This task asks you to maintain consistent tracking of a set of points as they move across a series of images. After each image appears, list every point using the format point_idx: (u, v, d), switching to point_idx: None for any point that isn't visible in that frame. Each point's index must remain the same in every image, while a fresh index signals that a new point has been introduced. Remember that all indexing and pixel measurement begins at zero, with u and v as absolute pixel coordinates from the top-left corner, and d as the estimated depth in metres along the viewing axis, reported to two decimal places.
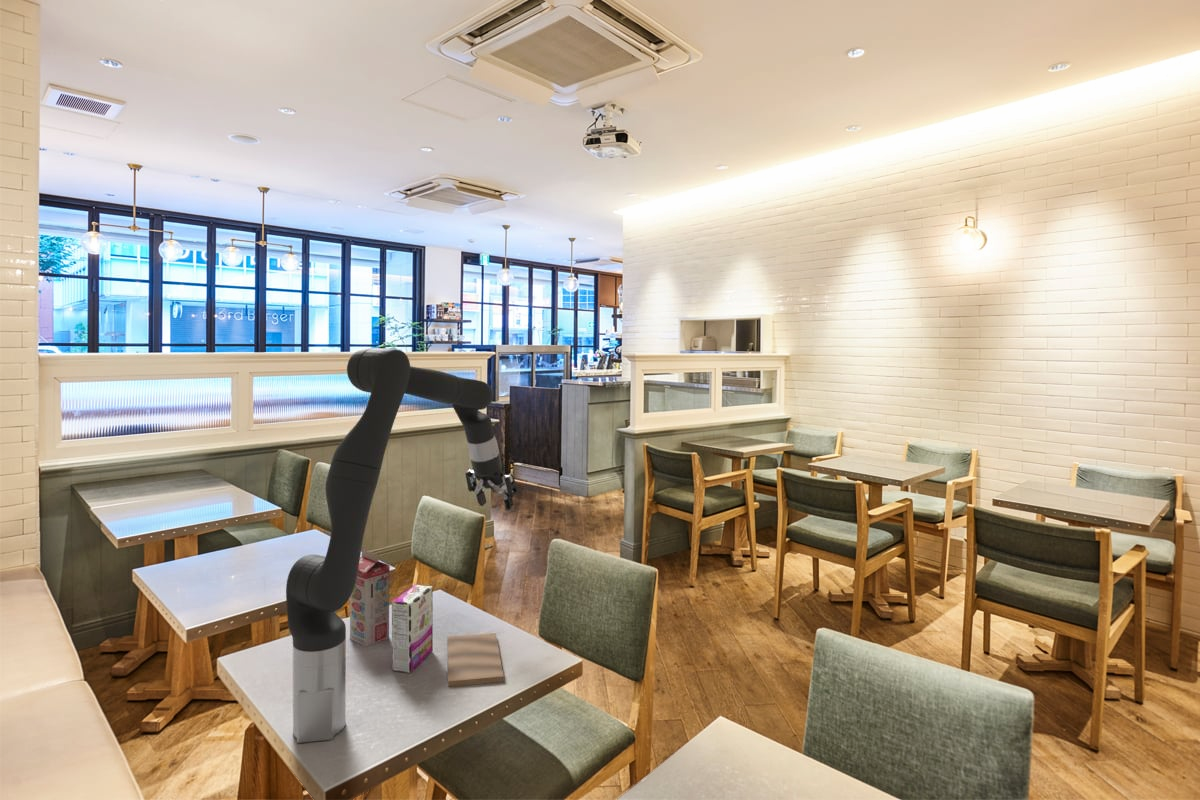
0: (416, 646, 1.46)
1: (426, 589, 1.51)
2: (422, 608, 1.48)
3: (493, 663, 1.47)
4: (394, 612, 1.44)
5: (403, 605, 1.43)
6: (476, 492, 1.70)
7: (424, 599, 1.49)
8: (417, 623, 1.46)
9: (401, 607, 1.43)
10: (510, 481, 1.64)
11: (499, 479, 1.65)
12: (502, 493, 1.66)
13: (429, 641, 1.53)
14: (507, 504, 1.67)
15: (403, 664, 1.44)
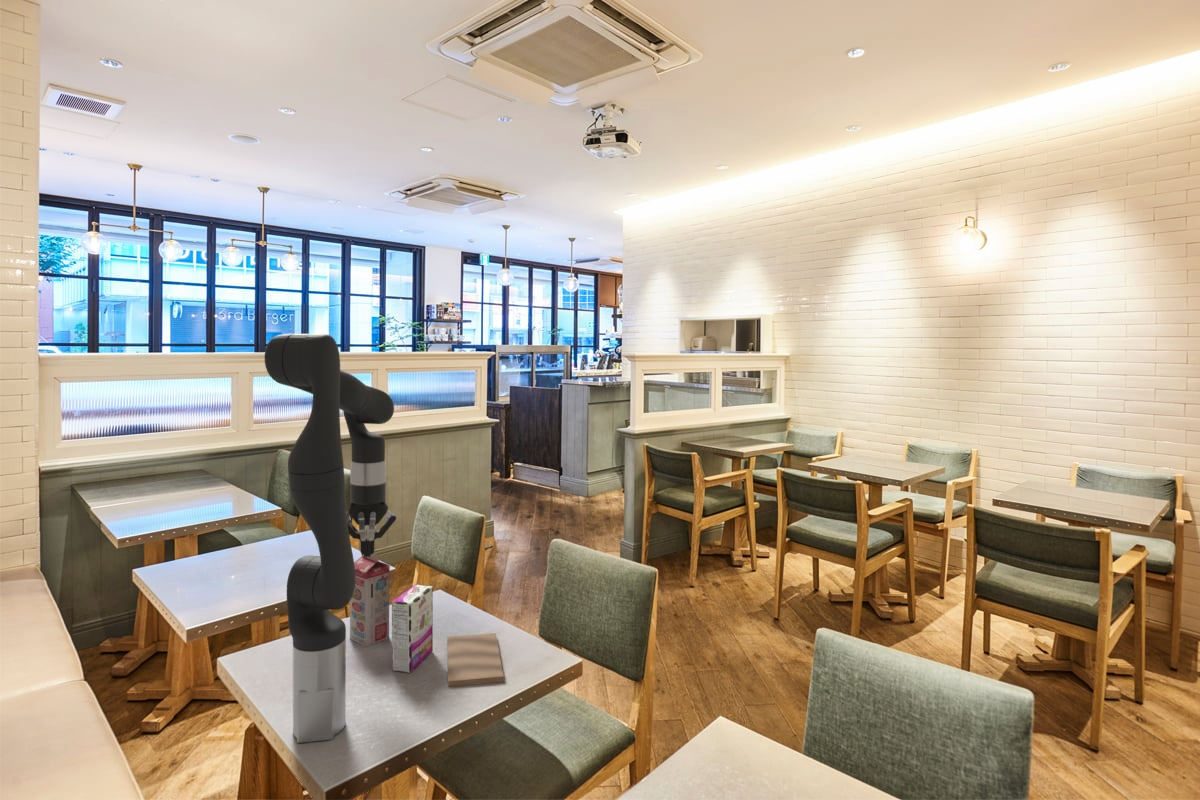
0: (416, 646, 1.46)
1: (426, 589, 1.51)
2: (422, 608, 1.48)
3: (493, 663, 1.47)
4: (394, 612, 1.44)
5: (403, 605, 1.43)
6: (364, 538, 1.44)
7: (424, 599, 1.49)
8: (417, 623, 1.46)
9: (401, 607, 1.43)
10: (393, 522, 1.45)
11: None
12: (372, 532, 1.44)
13: (429, 641, 1.53)
14: (370, 548, 1.44)
15: (403, 664, 1.44)
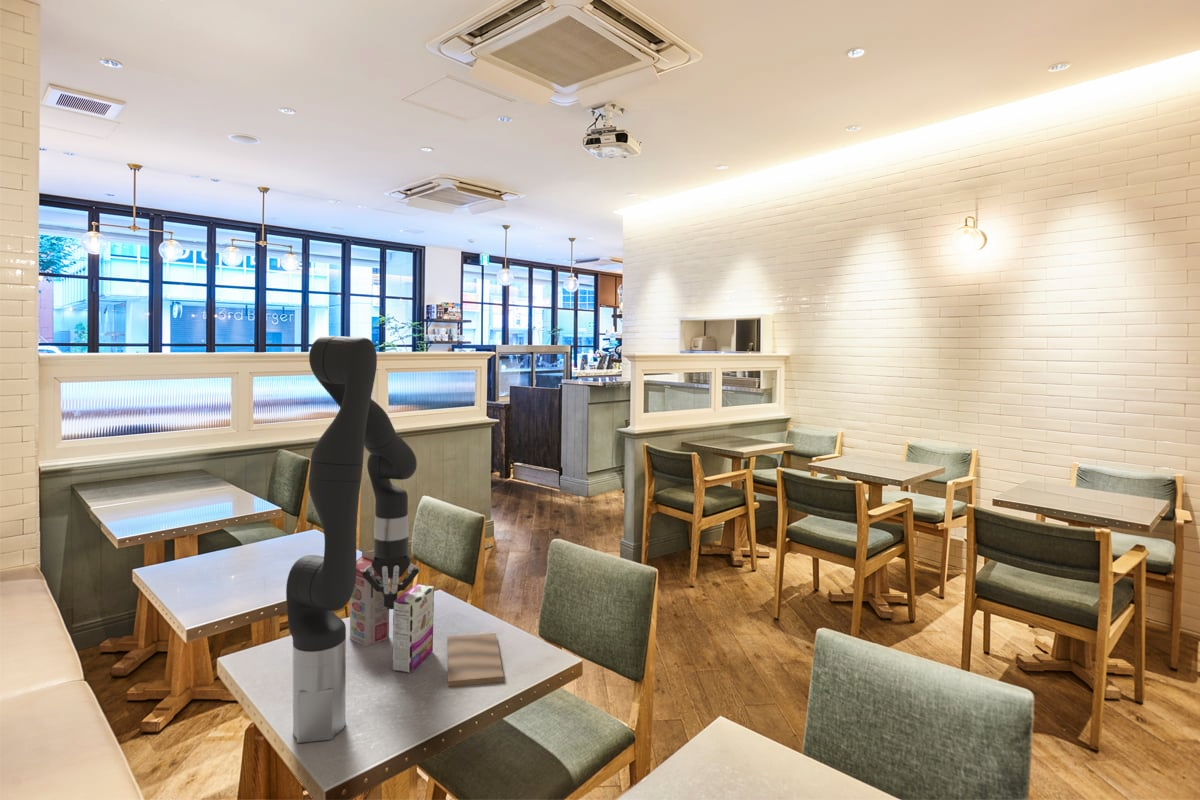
0: (417, 646, 1.46)
1: (428, 589, 1.51)
2: (423, 608, 1.48)
3: (493, 663, 1.47)
4: (396, 612, 1.43)
5: (405, 605, 1.43)
6: (387, 591, 1.46)
7: (426, 599, 1.49)
8: (418, 623, 1.46)
9: (403, 607, 1.43)
10: None
11: None
12: (395, 585, 1.46)
13: (429, 641, 1.52)
14: (393, 600, 1.47)
15: (403, 664, 1.44)
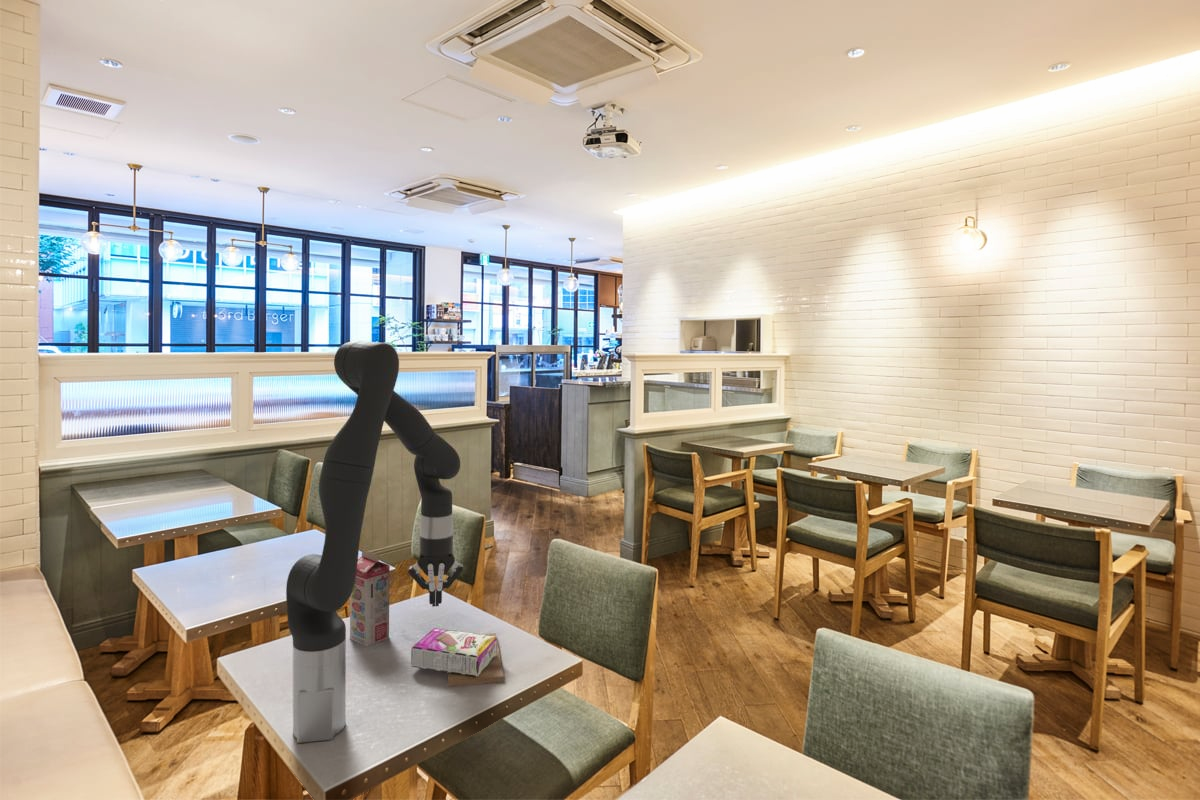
0: None
1: (492, 657, 1.49)
2: None
3: (493, 663, 1.47)
4: (467, 658, 1.41)
5: (475, 670, 1.41)
6: (432, 588, 1.48)
7: None
8: None
9: (473, 667, 1.41)
10: None
11: None
12: (440, 583, 1.49)
13: None
14: (438, 598, 1.49)
15: (418, 660, 1.44)
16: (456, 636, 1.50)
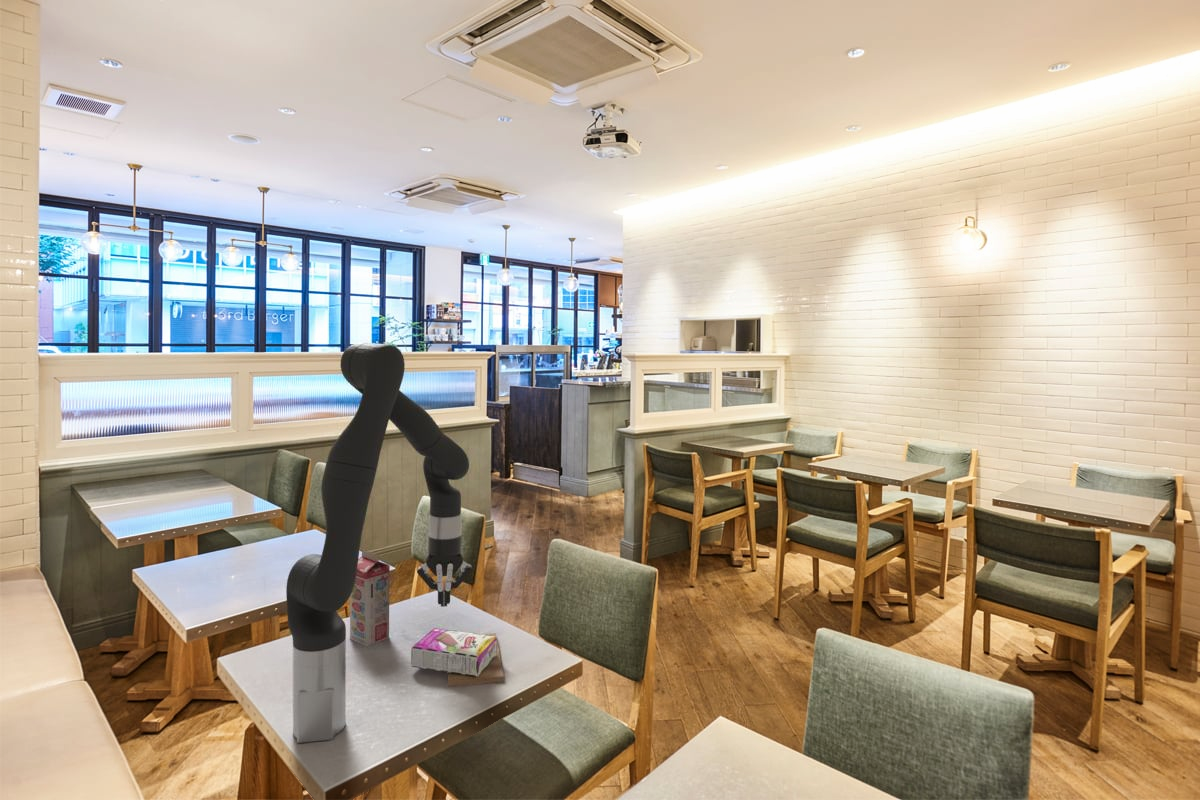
0: None
1: (492, 657, 1.49)
2: None
3: (493, 663, 1.47)
4: (467, 658, 1.41)
5: (475, 670, 1.41)
6: (441, 588, 1.49)
7: None
8: None
9: (473, 667, 1.41)
10: None
11: None
12: (448, 583, 1.49)
13: None
14: (447, 598, 1.49)
15: (418, 660, 1.44)
16: (456, 636, 1.50)
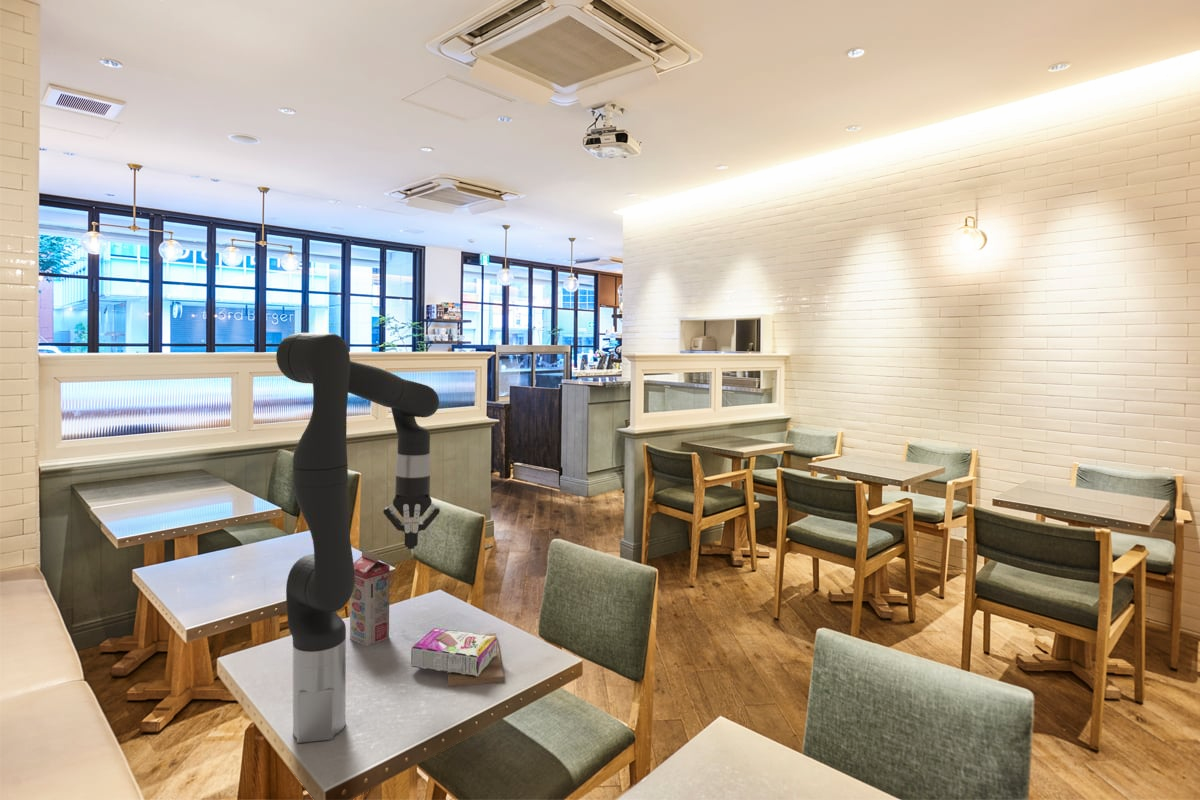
0: None
1: (492, 657, 1.49)
2: None
3: (493, 663, 1.47)
4: (467, 658, 1.41)
5: (475, 670, 1.41)
6: (408, 530, 1.45)
7: None
8: None
9: (473, 667, 1.41)
10: (437, 514, 1.47)
11: None
12: (416, 525, 1.45)
13: None
14: (414, 540, 1.46)
15: (418, 660, 1.44)
16: (456, 636, 1.50)
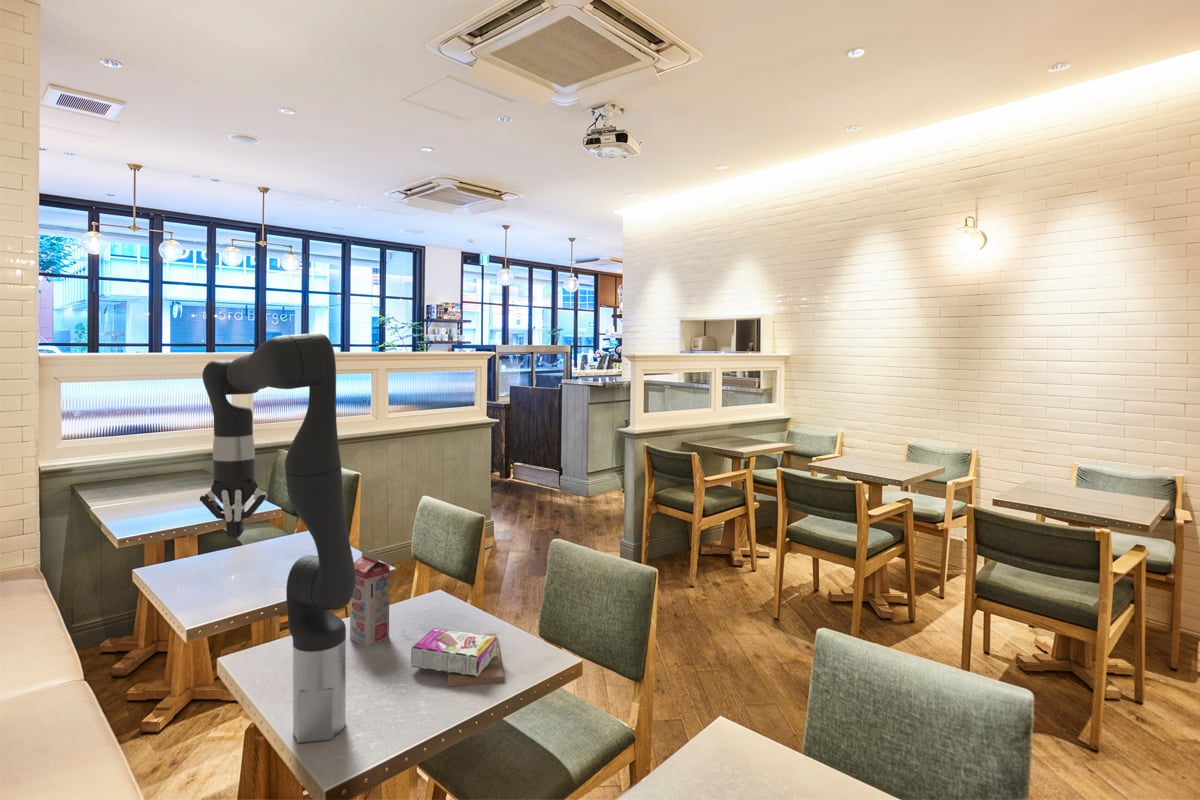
0: None
1: (492, 657, 1.49)
2: None
3: (493, 663, 1.47)
4: (467, 658, 1.41)
5: (475, 670, 1.41)
6: (229, 518, 1.33)
7: None
8: None
9: (473, 667, 1.41)
10: None
11: None
12: (238, 512, 1.33)
13: None
14: (237, 529, 1.34)
15: (418, 660, 1.44)
16: (456, 636, 1.50)
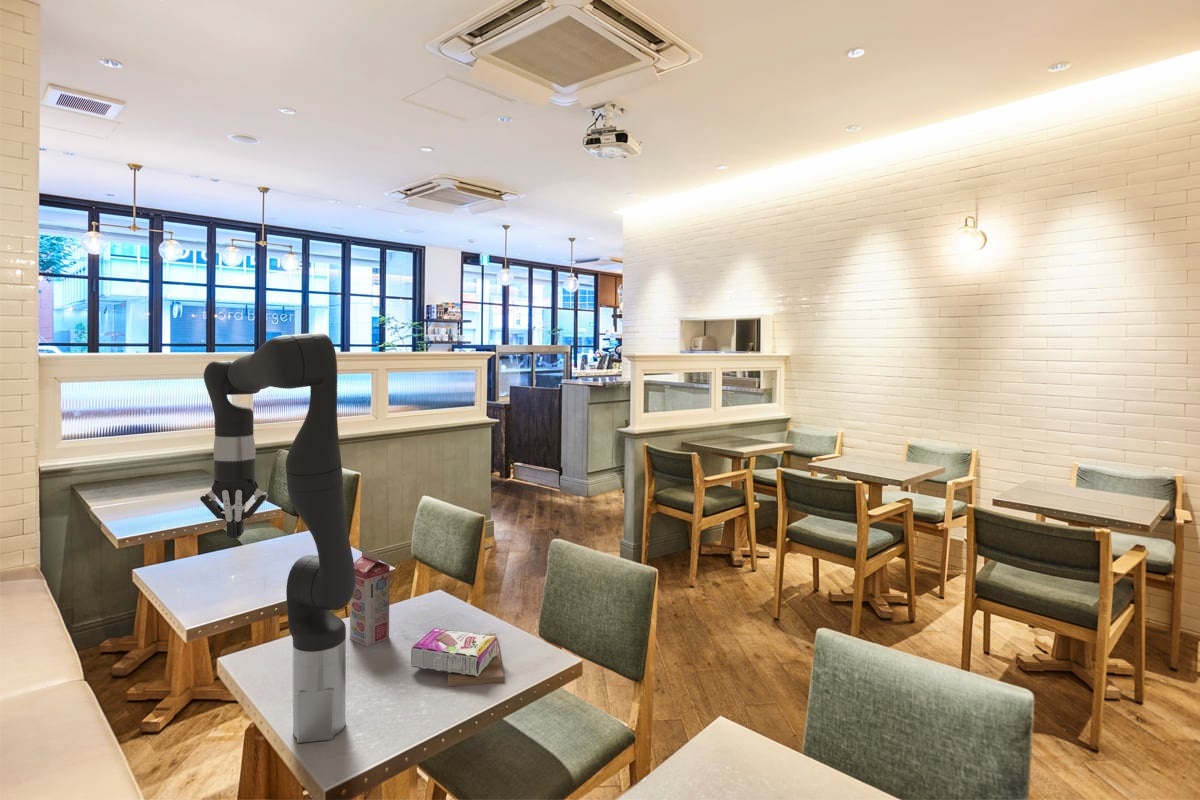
0: None
1: (492, 657, 1.49)
2: None
3: (493, 663, 1.47)
4: (467, 658, 1.41)
5: (475, 670, 1.41)
6: (229, 518, 1.33)
7: None
8: None
9: (473, 667, 1.41)
10: (263, 501, 1.35)
11: None
12: (238, 512, 1.33)
13: None
14: (237, 529, 1.34)
15: (418, 660, 1.44)
16: (456, 636, 1.50)
